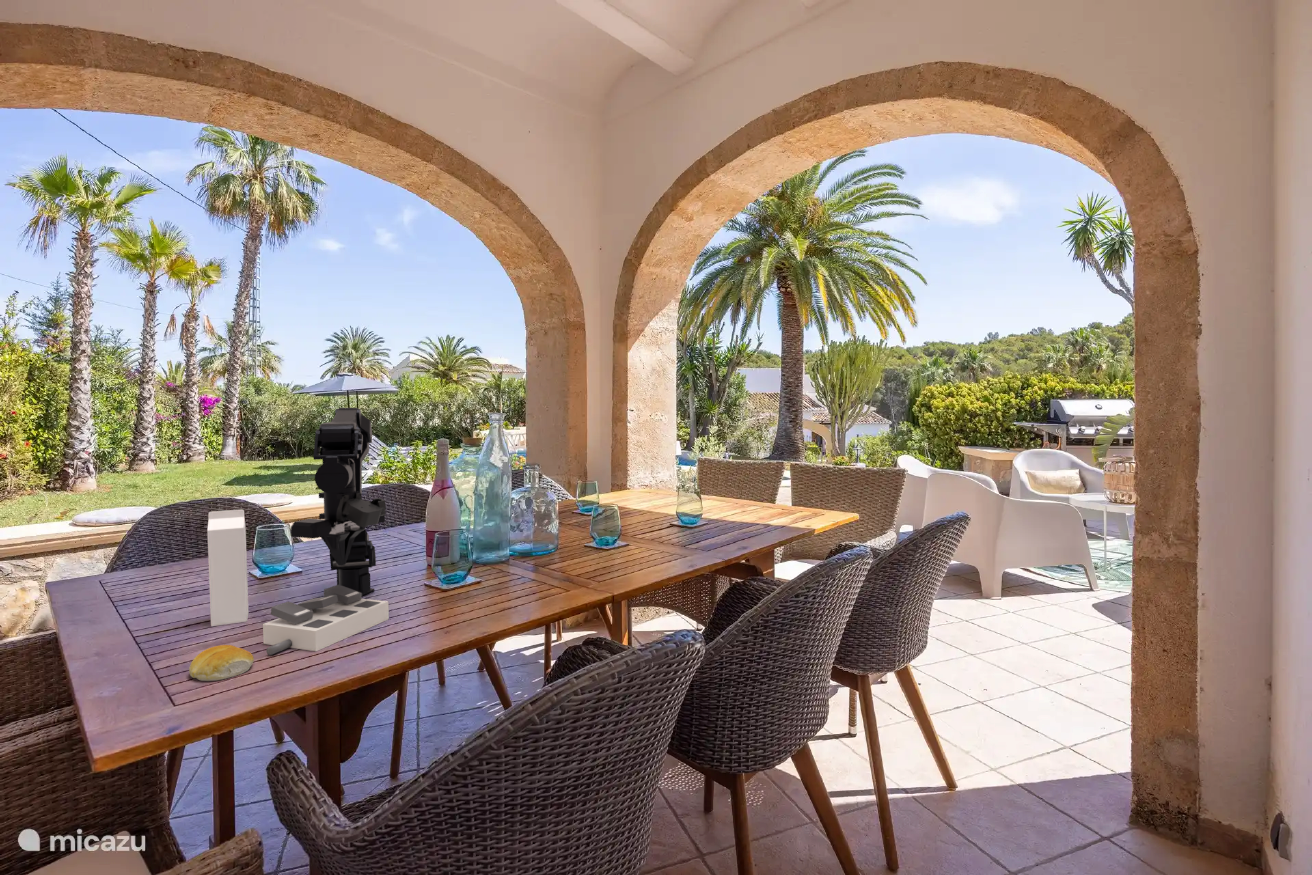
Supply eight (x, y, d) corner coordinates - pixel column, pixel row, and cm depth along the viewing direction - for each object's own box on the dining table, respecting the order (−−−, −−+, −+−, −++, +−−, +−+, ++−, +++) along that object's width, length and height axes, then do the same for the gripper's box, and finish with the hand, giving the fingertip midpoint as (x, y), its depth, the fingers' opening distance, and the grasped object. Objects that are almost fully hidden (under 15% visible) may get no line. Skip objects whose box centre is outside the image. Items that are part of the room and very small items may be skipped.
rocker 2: (323, 595, 130) (324, 588, 130) (337, 590, 133) (338, 584, 133) (347, 604, 128) (348, 597, 128) (360, 599, 131) (362, 592, 131)
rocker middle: (299, 611, 124) (297, 603, 124) (314, 605, 127) (312, 598, 127) (323, 607, 122) (321, 599, 122) (338, 602, 126) (336, 594, 126)
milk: (247, 622, 130) (243, 511, 129) (210, 627, 127) (206, 514, 126) (248, 613, 135) (245, 507, 134) (213, 618, 132) (209, 509, 131)
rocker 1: (270, 614, 118) (271, 606, 118) (287, 608, 122) (288, 600, 122) (295, 624, 117) (297, 616, 116) (312, 618, 120) (313, 610, 120)
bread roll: (234, 657, 112) (233, 634, 112) (261, 669, 107) (260, 645, 107) (178, 674, 105) (177, 650, 105) (204, 687, 100) (203, 661, 100)
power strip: (243, 651, 114) (242, 630, 114) (340, 613, 135) (340, 595, 135) (296, 659, 110) (296, 637, 110) (388, 619, 131) (388, 600, 131)
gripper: (335, 494, 118) (337, 580, 119) (405, 482, 136) (407, 557, 137) (287, 492, 122) (290, 575, 122) (362, 481, 139) (363, 553, 140)
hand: (341, 565), depth 130 cm, fingers closed
